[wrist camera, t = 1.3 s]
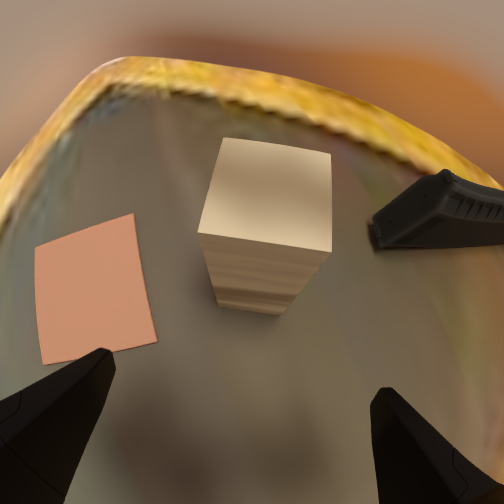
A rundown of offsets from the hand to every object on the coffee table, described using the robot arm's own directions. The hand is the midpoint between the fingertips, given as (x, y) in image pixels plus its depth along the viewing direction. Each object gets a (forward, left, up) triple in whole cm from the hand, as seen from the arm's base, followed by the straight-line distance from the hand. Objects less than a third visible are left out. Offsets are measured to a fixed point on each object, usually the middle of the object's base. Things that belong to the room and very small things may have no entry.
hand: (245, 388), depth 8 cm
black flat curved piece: (+28, -12, -14) cm, 33 cm away
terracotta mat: (-5, +15, -13) cm, 20 cm away
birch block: (+6, +4, -13) cm, 15 cm away
